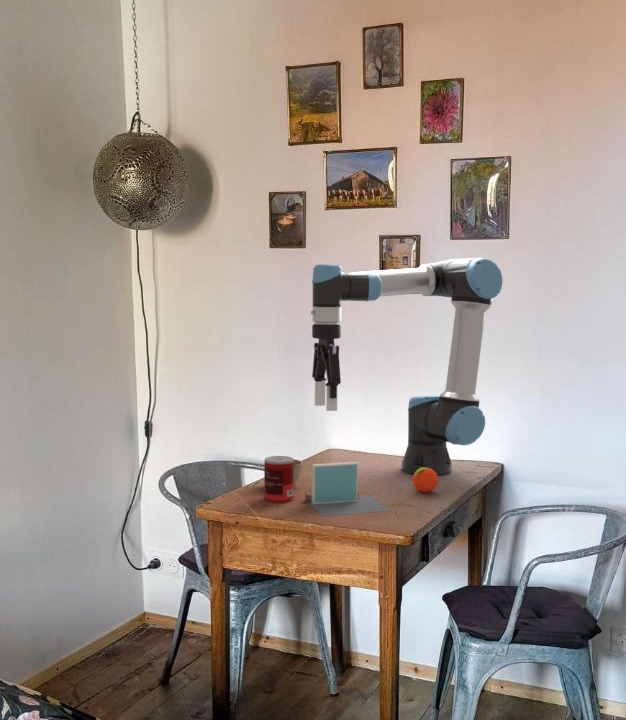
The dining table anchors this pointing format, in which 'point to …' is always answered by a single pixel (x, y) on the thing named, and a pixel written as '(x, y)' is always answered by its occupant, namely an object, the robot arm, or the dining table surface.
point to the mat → (350, 507)
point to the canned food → (279, 479)
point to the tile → (334, 482)
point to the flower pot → (297, 470)
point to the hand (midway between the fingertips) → (325, 407)
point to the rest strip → (309, 497)
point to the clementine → (425, 480)
